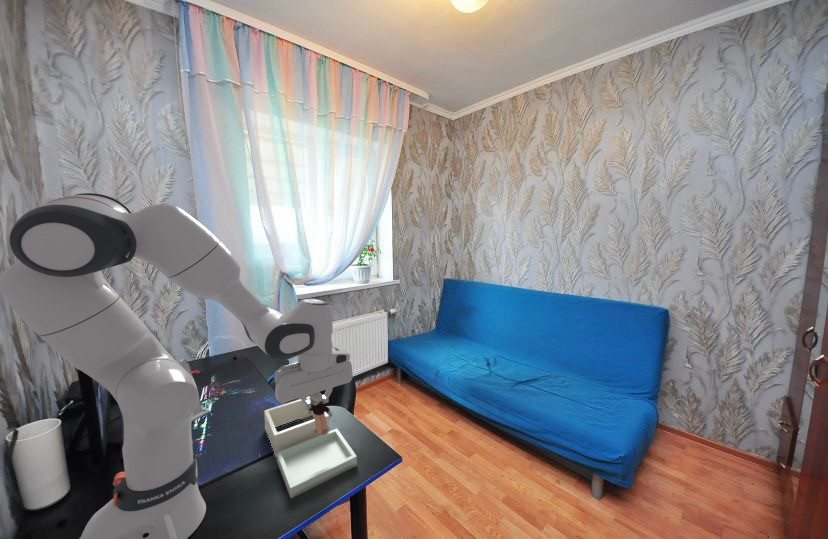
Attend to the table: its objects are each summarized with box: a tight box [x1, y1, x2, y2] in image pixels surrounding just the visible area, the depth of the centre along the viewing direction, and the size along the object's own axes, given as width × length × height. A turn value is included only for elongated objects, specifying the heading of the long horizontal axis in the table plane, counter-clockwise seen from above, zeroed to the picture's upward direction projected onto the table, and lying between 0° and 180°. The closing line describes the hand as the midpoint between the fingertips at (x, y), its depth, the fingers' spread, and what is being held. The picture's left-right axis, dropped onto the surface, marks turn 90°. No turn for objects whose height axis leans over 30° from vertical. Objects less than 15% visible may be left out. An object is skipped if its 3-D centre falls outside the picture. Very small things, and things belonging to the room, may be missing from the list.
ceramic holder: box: [263, 395, 330, 458], centre depth 96 cm, size 16×14×7 cm
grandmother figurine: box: [308, 392, 333, 435], centre depth 83 cm, size 8×4×13 cm, turn 83°
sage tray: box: [276, 428, 358, 499], centre depth 85 cm, size 18×14×3 cm
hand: (316, 405), depth 82 cm, fingers open, 3 cm apart
